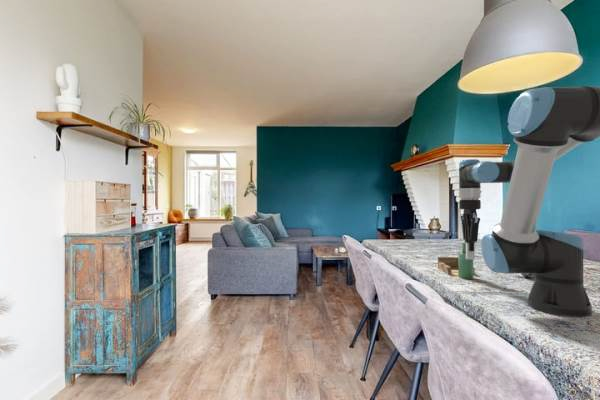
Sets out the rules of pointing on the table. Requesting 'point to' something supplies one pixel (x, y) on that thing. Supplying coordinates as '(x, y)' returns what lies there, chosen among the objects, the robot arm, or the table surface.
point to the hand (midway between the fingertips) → (470, 258)
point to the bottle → (464, 264)
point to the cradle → (451, 267)
